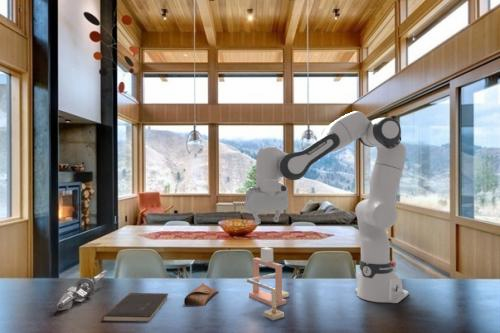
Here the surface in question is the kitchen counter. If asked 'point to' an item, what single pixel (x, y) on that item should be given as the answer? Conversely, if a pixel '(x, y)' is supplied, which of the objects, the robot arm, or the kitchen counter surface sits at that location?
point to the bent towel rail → (273, 312)
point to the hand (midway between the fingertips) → (267, 222)
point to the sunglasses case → (200, 296)
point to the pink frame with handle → (268, 261)
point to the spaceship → (79, 291)
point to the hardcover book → (136, 307)
